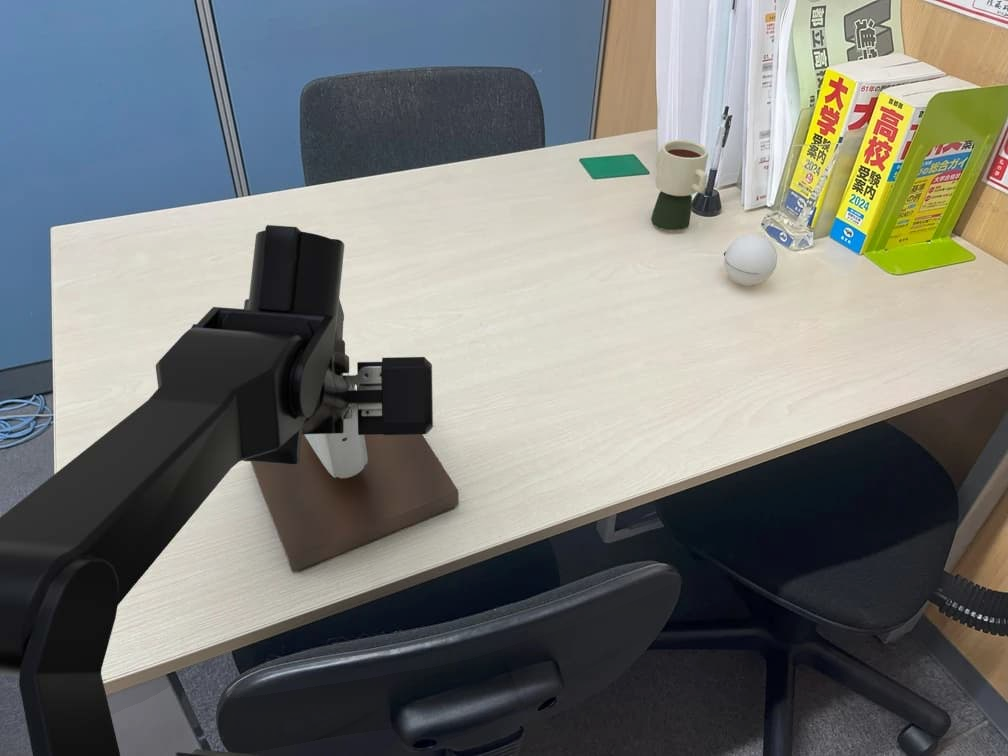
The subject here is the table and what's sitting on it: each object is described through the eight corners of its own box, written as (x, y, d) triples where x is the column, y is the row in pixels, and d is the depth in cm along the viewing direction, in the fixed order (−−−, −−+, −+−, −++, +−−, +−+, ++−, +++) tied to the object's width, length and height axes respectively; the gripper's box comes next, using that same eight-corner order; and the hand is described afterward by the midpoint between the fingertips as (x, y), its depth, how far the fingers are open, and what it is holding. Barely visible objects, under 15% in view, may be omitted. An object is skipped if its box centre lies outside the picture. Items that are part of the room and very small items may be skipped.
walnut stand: (292, 574, 65) (288, 558, 64) (251, 465, 75) (246, 449, 73) (459, 506, 72) (458, 490, 70) (401, 414, 81) (399, 398, 80)
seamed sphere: (749, 264, 109) (762, 221, 104) (779, 290, 103) (795, 246, 99) (693, 275, 106) (704, 231, 101) (722, 302, 100) (734, 258, 96)
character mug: (708, 234, 115) (727, 158, 106) (674, 245, 112) (691, 167, 104) (664, 206, 122) (679, 132, 113) (631, 215, 119) (644, 140, 110)
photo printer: (375, 468, 69) (359, 370, 61) (334, 486, 68) (312, 388, 60) (333, 409, 76) (313, 313, 68) (294, 424, 74) (269, 328, 66)
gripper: (427, 277, 51) (433, 314, 66) (158, 280, 49) (228, 317, 65) (430, 433, 50) (435, 434, 65) (156, 441, 49) (228, 439, 64)
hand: (332, 403), depth 65 cm, fingers closed on photo printer, 5 cm apart
